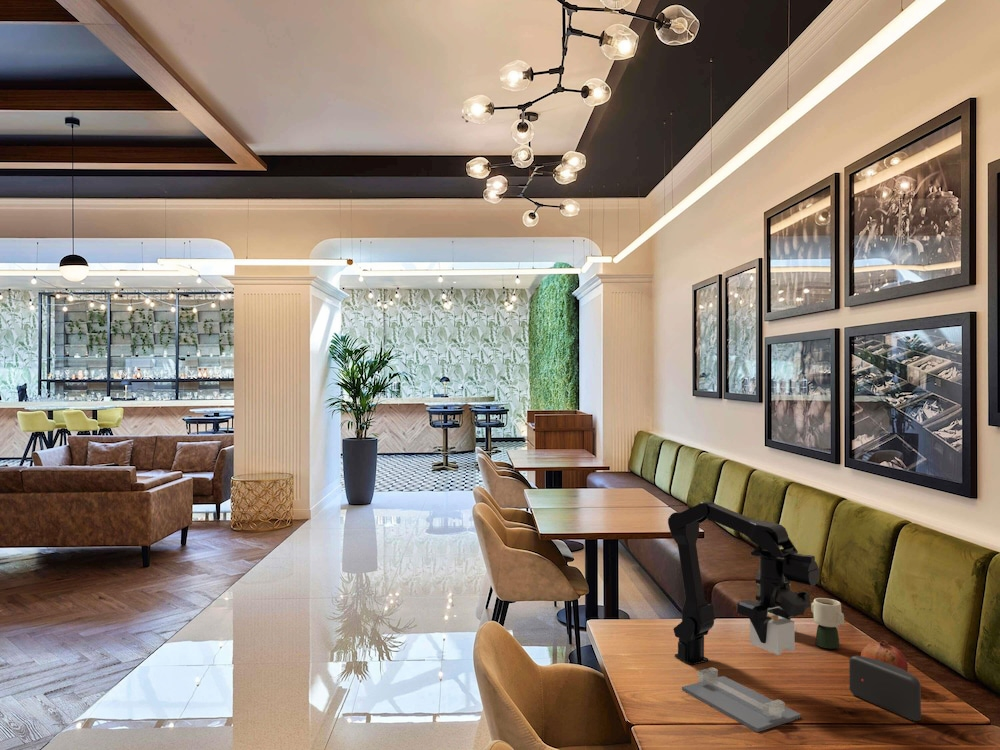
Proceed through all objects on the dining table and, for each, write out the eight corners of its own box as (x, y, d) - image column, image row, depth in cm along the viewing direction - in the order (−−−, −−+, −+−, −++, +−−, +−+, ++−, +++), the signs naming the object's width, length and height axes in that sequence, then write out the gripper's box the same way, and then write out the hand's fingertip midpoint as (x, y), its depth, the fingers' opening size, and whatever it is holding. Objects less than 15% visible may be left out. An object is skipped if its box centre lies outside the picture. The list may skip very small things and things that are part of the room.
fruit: (917, 691, 156) (916, 650, 157) (875, 690, 157) (874, 648, 157) (892, 673, 167) (892, 634, 167) (853, 671, 167) (853, 633, 168)
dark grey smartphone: (930, 720, 142) (929, 677, 142) (918, 725, 140) (917, 681, 140) (859, 690, 156) (859, 651, 157) (847, 694, 154) (847, 654, 155)
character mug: (853, 652, 180) (852, 606, 181) (834, 656, 178) (834, 608, 178) (821, 639, 190) (820, 594, 191) (802, 641, 188) (802, 597, 188)
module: (766, 639, 162) (766, 608, 162) (794, 650, 155) (794, 618, 155) (750, 643, 159) (750, 611, 159) (777, 655, 152) (777, 621, 152)
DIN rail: (712, 680, 159) (712, 666, 159) (785, 717, 140) (785, 702, 141) (697, 683, 157) (697, 670, 157) (769, 722, 138) (769, 707, 138)
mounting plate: (723, 679, 161) (723, 675, 161) (800, 717, 142) (800, 714, 142) (682, 690, 155) (682, 686, 155) (757, 732, 135) (757, 728, 135)
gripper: (774, 589, 146) (774, 659, 146) (826, 580, 155) (826, 645, 154) (735, 577, 156) (735, 642, 155) (786, 569, 165) (786, 630, 164)
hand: (771, 640), depth 157 cm, fingers closed on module, 6 cm apart
